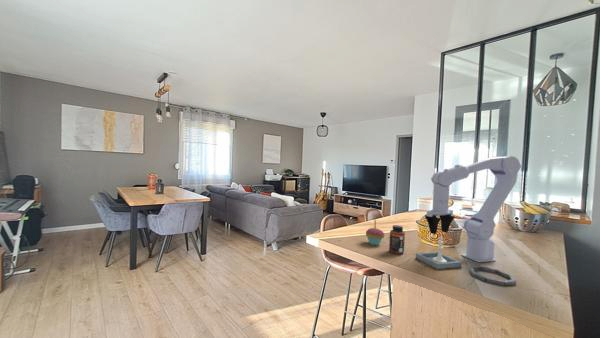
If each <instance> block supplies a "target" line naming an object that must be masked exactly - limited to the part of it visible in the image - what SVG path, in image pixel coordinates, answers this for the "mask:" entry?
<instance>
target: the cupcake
mask: <svg viewBox="0 0 600 338" xmlns="http://www.w3.org/2000/svg"><path fill="white" fill-rule="evenodd" d="M365 236H366V238H367V239H368V244H370V245H373V246H379V245H380V244H381V242H382V239H384V237H385V233H384V231H383V230H381V229H378V228H377V219H376V218H374V228H371V227H370V228H368V229H367V230H366V231H365Z"/></svg>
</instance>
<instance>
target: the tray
mask: <svg viewBox="0 0 600 338" xmlns="http://www.w3.org/2000/svg"><path fill="white" fill-rule="evenodd" d="M437 256H438V251H433V252H432V251H431V252H430V251H429V252H416V253H415V259H416V260H418V261H421V262H423V263H424V264H426V265H428V266H430V267H431V266H432V268H433V267H434V268H433V269H435V268H436V269H435V270H437V269H440V270H447V269H446V268H451V269H458V268H460V267H461V268H462V266H463V265H462V263H463V262H462V261H460V260H458V259H455V258H453V257H451V256H448V255H446V254H444V253H442V257H443V259H445V260H446V261H447V262H444V263H437V262H435V261H433V258H435V257H437Z"/></svg>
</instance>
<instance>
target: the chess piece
mask: <svg viewBox="0 0 600 338" xmlns="http://www.w3.org/2000/svg"><path fill="white" fill-rule="evenodd" d="M437 239H438V240H437V243H438V245H437V246H436V247H437V249H438V251H437V252H438V256H437V257H435V258H433V261H435V262H437V263H444V262H447V261H446V260H445V259H443V257H442V254H443V252H442V251H443V249H444V246H443V244H444V241H443V240H444V238H443V236H442V235H439V236H438V238H437Z"/></svg>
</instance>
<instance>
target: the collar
mask: <svg viewBox="0 0 600 338" xmlns="http://www.w3.org/2000/svg"><path fill="white" fill-rule="evenodd" d="M479 271H483V272H488V273H492V274H496V275H500V276H502V277H504V278H506V280H501V279H496V278H492V277H487V276H485V275H482V274H480V273H478V272H479ZM469 272H471V273H470V275H471V277H475V278H477V279H478V280H481V281H483V282H484V283H485V282H486V283H489V284H493V285H498V286H503V287H508V286H516V285H517V280H516V279H515V277H514V276H513V275H512V274H511V273H507V272H505V271H504V270H503V271H502V270H500V269H497V268H492V267H487V266H484V265H483V266H482V265H481V266H480V265H476V266H470V267H469Z"/></svg>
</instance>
